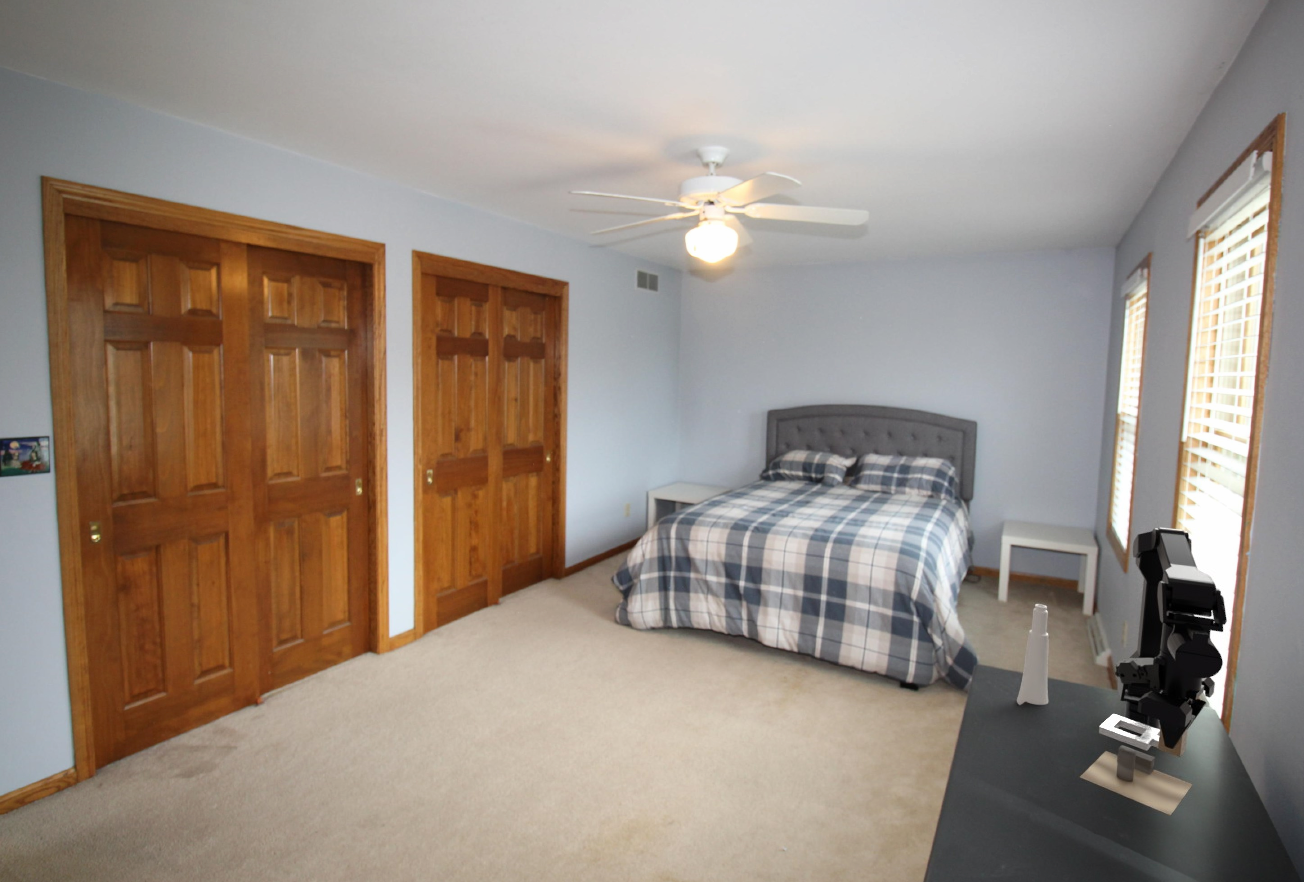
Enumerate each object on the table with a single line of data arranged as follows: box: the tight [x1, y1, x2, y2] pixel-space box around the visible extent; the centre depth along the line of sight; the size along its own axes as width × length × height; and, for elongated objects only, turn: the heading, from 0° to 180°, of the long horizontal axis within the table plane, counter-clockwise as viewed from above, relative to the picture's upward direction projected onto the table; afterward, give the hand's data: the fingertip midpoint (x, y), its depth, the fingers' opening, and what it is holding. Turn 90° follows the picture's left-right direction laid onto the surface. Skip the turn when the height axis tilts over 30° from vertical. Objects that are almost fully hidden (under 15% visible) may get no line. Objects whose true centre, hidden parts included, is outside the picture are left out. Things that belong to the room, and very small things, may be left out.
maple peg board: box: [1079, 744, 1193, 816], centre depth 119 cm, size 13×13×6 cm
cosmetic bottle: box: [1016, 603, 1050, 706], centre depth 148 cm, size 6×6×22 cm
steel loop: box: [1098, 713, 1189, 758], centre depth 118 cm, size 7×11×6 cm, turn 40°
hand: (1172, 744), depth 115 cm, fingers closed on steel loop, 3 cm apart
